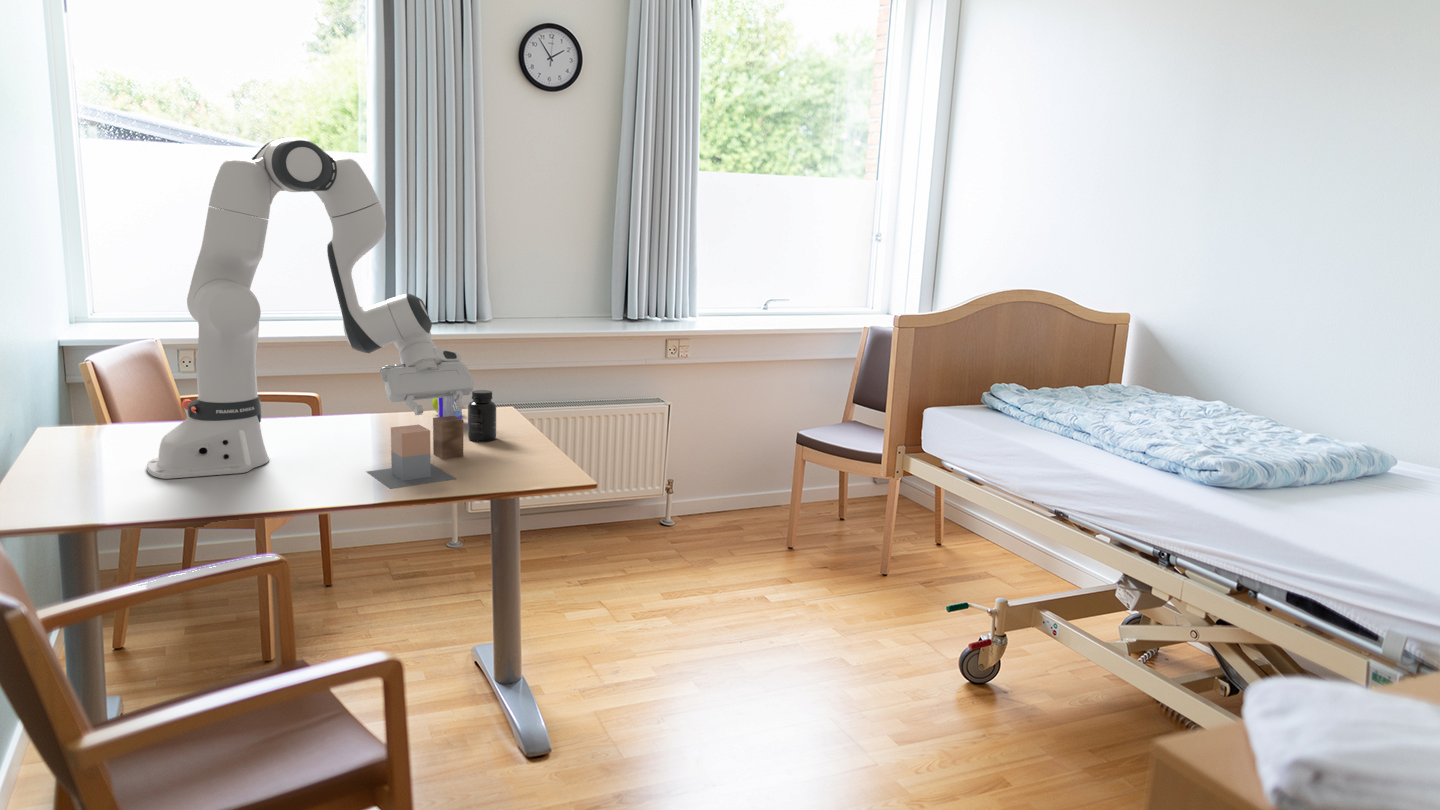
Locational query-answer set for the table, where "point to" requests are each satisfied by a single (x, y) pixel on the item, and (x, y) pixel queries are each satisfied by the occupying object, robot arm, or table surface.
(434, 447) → the walnut post
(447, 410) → the bottle
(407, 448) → the tower top
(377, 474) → the rubber mat
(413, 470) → the tower bottom
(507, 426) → the table surface
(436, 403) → the tennis ball
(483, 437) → the supplement bottle
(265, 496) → the table surface
